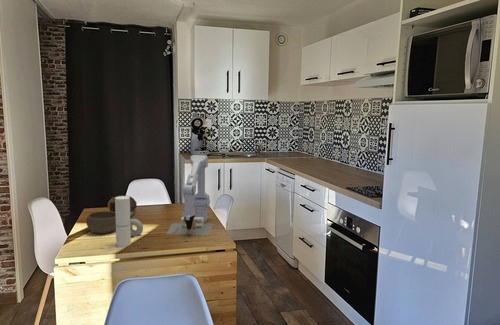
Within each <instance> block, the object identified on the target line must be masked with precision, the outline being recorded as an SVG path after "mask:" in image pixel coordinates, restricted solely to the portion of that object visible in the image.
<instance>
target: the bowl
mask: <svg viewBox="0 0 500 325" xmlns="http://www.w3.org/2000/svg"><path fill="white" fill-rule="evenodd" d="M86 226H87V228H88V229H89V231H91V232H92V233H95V234H108V233H112V232H114V231H116V214H115V212H110V211H109V210H108V211H105V210H104V211H95V212H91V213H90V214H88V215H87V218H86Z"/></svg>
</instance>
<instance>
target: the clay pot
mask: <svg viewBox="0 0 500 325" xmlns="http://www.w3.org/2000/svg"><path fill="white" fill-rule="evenodd" d="M119 196H128V197H130V217H131V216H132V215H133V214H134V213H135V211H136V209H137V205H138V204H137V201H136V200H135V199H134V198H133V197H132V196H130V195H127V194H121V195H116V196H113V197H112V198H111V199H110V200H109V201H108V202H107V210H108V211H110V212H115V198H116V197H119Z"/></svg>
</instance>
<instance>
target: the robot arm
mask: <svg viewBox="0 0 500 325" xmlns="http://www.w3.org/2000/svg"><path fill="white" fill-rule="evenodd" d="M207 155H208V154H207ZM207 155H206V154H205V155H203V154H202V155H201V154H200V155H199V154H191V156H190V160H189V161H190V166H191V171H190V173H189V174H188V175H187V180H186V182H185V184H184V185H183V186H182V196H183V199H184V200H183V204H184V206H183V209H184V211H183V212H181V214H182V215H183V217H184V220H183V221H184V223H186V226H187V230H191V228H192V224H193V220H194V217H203V223H205V222H207V221H208V208H210V205H211V200H210V194H208V193H207V192H206V168H208V167H209V156H207ZM196 222H198V223H201V220H196Z"/></svg>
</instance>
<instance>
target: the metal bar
mask: <svg viewBox="0 0 500 325" xmlns="http://www.w3.org/2000/svg"><path fill="white" fill-rule="evenodd" d="M177 229H178V227H177V226H175V228H174V229H173V231H172V234H171V235H176V234H175V232H176V231H177Z"/></svg>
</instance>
